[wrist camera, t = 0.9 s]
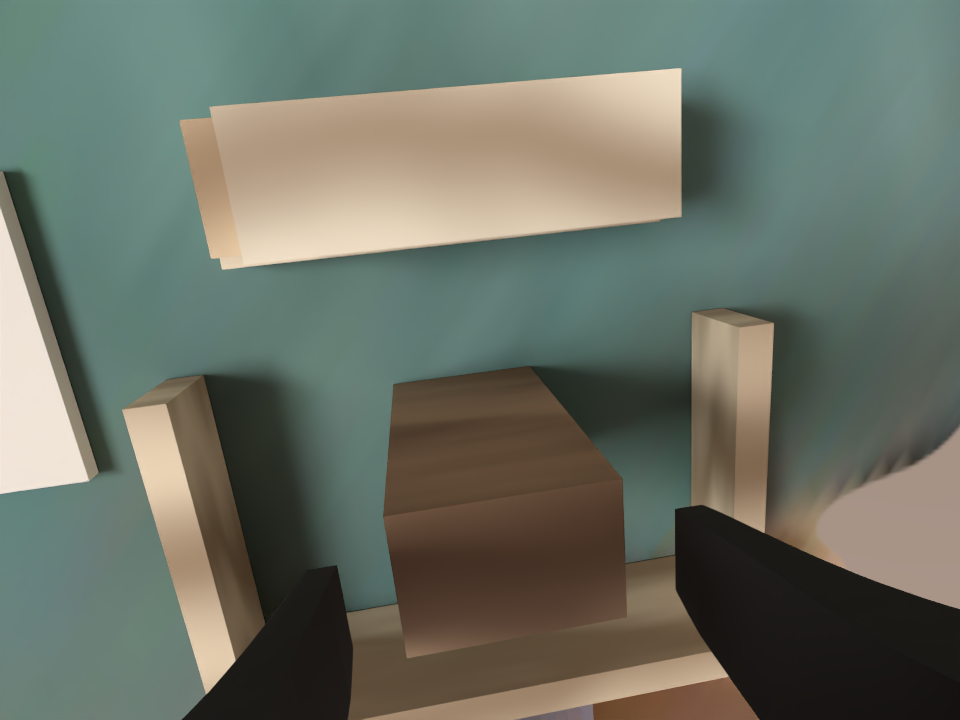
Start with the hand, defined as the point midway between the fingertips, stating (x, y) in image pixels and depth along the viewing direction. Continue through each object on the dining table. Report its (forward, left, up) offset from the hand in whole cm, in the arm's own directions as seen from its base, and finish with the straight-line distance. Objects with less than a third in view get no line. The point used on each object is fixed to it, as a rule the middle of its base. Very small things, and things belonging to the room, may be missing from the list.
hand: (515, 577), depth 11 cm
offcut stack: (+8, 0, -9) cm, 13 cm away
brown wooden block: (0, 0, -9) cm, 9 cm away
